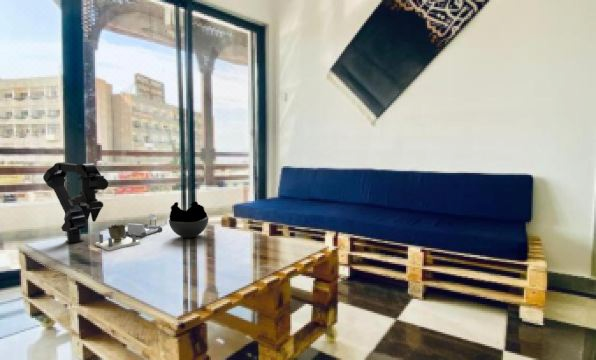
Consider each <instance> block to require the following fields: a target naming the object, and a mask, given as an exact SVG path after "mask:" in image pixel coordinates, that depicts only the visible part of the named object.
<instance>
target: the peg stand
mask: <svg viewBox="0 0 596 360" xmlns="http://www.w3.org/2000/svg"><path fill="white" fill-rule="evenodd" d="M126 231H127V229H125V234H124V237H123V238H121V239H122V241H121V242H117V243H116V242H114V241H113V240H114V239H112V238H111V237H108V238H107V240H104V233H101V234H98V237H99V241H96V242H95V246H96V247H99V248H101V249H104V250H106V251H113V250H117V249H122V248H125V247H126V248H128V247H130V246H135V245H140V244H141V240H138V239H137V237H136V233H132V235H131V237H130V236H126Z"/></svg>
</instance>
